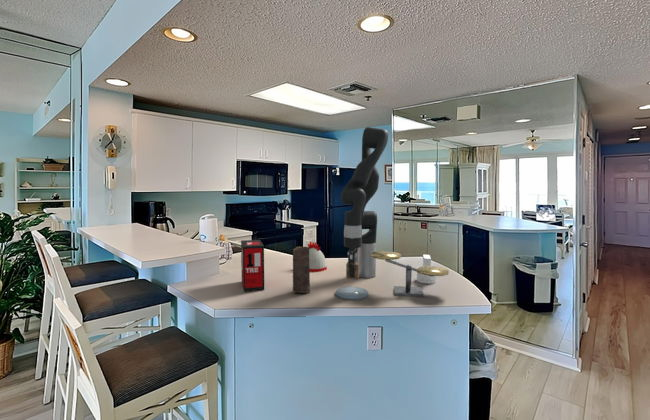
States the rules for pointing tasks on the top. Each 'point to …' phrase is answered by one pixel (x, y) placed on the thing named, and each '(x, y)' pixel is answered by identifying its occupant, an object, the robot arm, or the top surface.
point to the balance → (409, 273)
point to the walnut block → (355, 271)
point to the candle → (301, 270)
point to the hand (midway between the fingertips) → (352, 275)
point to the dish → (352, 293)
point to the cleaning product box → (252, 265)
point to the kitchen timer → (316, 258)
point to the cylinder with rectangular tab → (426, 278)
